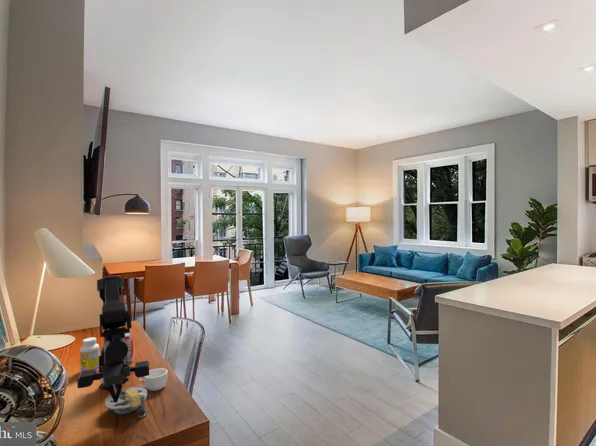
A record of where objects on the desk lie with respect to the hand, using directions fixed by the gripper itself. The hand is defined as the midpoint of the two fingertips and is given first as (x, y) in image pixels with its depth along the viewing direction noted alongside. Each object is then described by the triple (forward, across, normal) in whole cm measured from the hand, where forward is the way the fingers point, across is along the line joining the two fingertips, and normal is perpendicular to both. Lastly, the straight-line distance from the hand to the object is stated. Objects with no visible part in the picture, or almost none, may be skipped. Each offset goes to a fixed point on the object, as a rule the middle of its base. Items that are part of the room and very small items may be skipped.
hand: (116, 401), depth 102 cm
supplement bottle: (+6, -13, +44) cm, 46 cm away
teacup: (+6, +10, +16) cm, 20 cm away
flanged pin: (+6, +7, -1) cm, 9 cm away
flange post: (+6, +2, +5) cm, 8 cm away
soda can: (+6, -1, +47) cm, 47 cm away
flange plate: (+3, +3, +4) cm, 6 cm away
